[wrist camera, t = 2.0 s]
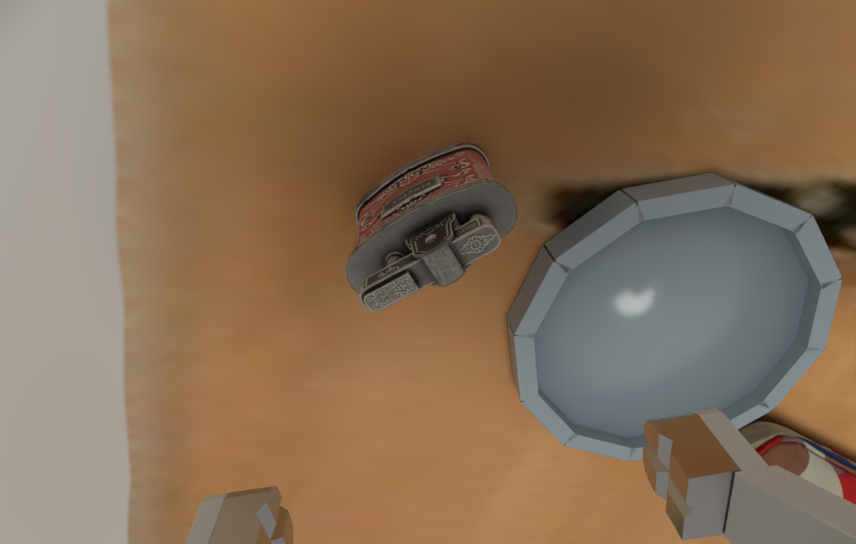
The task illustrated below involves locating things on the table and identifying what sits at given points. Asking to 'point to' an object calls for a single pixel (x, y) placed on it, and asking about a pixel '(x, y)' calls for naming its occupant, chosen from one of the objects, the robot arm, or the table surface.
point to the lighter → (427, 225)
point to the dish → (670, 311)
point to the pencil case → (803, 457)
